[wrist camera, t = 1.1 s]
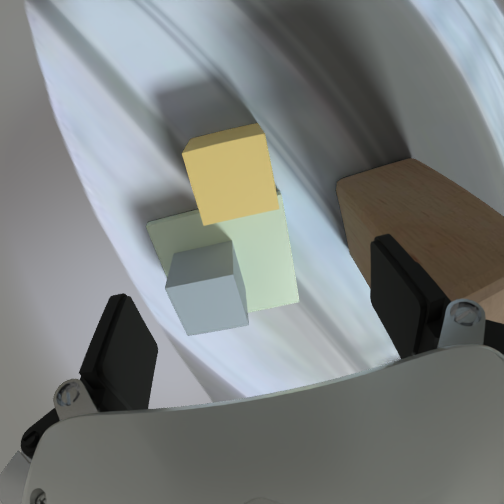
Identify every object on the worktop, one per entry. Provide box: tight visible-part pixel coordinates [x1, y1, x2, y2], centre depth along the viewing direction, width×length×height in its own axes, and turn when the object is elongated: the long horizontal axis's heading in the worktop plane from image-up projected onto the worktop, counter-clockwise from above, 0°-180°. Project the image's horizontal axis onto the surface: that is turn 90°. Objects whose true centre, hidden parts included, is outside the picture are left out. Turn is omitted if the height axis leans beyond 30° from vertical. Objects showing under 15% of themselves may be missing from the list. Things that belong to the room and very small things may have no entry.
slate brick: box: [165, 241, 249, 336], centre depth 32 cm, size 6×6×6 cm
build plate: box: [146, 191, 299, 313], centre depth 34 cm, size 14×14×1 cm
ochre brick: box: [182, 123, 279, 226], centre depth 27 cm, size 6×6×6 cm
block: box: [336, 158, 504, 324], centre depth 24 cm, size 10×10×20 cm
